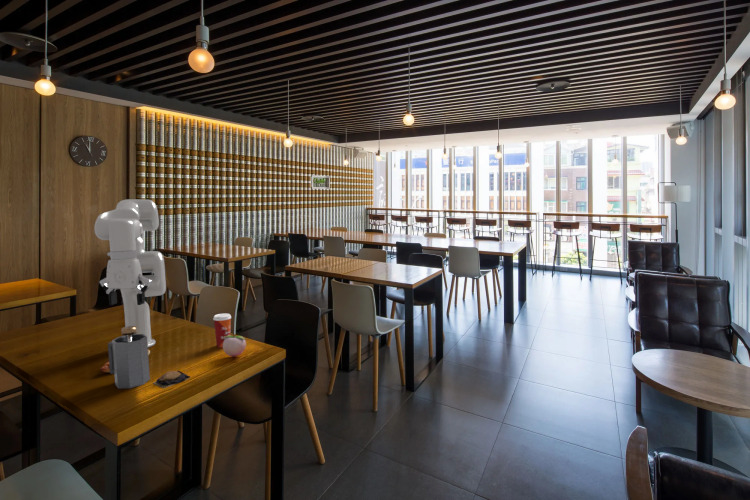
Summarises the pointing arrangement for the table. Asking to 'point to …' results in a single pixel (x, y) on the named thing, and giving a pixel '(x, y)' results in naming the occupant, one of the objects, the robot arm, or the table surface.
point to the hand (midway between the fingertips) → (127, 304)
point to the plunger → (129, 332)
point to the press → (129, 361)
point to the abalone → (171, 379)
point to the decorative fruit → (234, 345)
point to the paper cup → (222, 327)
